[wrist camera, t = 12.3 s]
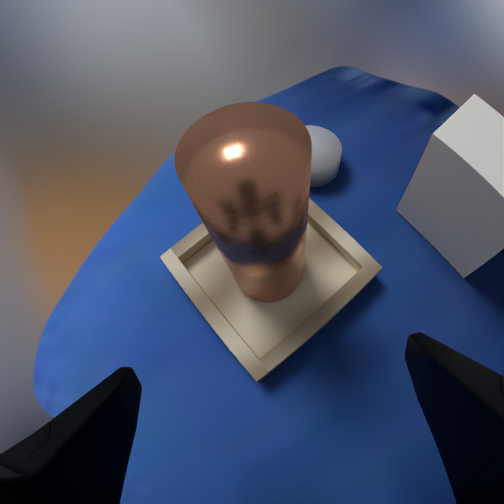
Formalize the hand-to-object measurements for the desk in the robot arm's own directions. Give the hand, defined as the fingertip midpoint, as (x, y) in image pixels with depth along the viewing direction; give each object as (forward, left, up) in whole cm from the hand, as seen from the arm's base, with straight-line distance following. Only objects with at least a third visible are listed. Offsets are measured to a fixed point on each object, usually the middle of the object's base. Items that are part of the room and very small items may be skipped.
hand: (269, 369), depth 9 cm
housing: (-1, -19, -11) cm, 22 cm away
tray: (+6, -4, -11) cm, 13 cm away
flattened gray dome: (+11, -13, -12) cm, 21 cm away
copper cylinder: (+6, -4, -11) cm, 13 cm away
